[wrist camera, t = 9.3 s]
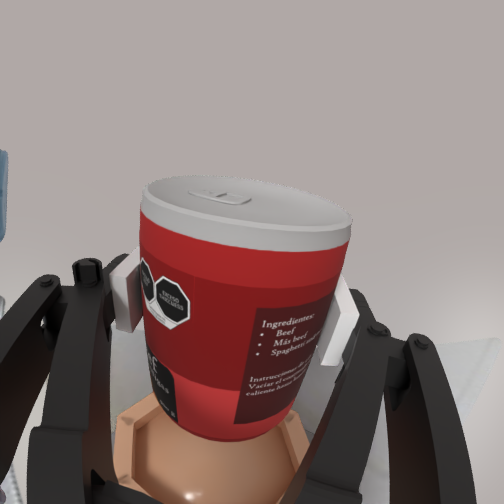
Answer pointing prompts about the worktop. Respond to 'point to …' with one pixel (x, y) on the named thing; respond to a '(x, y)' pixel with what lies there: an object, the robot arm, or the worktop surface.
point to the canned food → (234, 297)
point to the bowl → (204, 460)
